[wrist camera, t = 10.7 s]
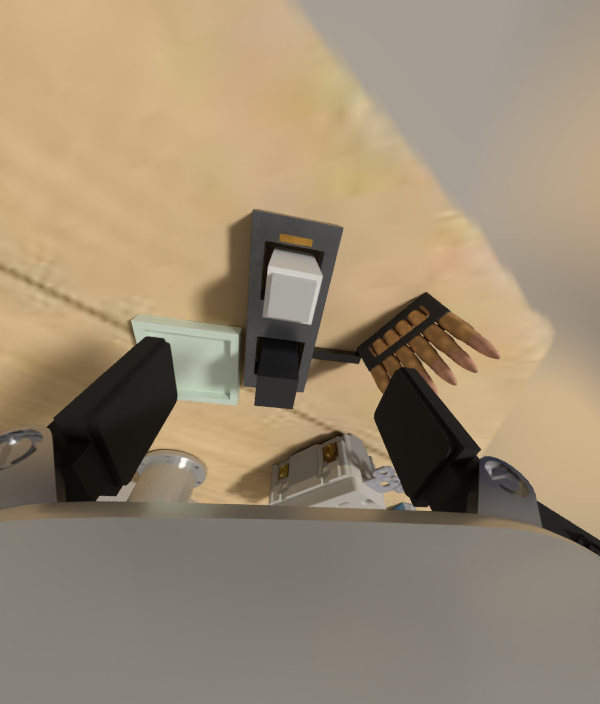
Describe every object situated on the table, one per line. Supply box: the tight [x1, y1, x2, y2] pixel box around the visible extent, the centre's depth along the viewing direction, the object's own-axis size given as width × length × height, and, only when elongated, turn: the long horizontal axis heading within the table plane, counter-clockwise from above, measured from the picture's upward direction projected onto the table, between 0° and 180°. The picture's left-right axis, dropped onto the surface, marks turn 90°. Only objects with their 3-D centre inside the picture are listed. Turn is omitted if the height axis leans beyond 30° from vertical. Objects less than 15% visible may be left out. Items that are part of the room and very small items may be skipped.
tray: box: [131, 314, 242, 405], centre depth 30 cm, size 12×12×2 cm
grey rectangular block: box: [263, 246, 323, 325], centre depth 21 cm, size 4×4×10 cm
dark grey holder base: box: [244, 209, 361, 409], centre depth 24 cm, size 20×15×9 cm
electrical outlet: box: [269, 434, 404, 509], centre depth 41 cm, size 12×28×10 cm, turn 131°
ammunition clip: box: [357, 292, 500, 396], centre depth 24 cm, size 11×2×12 cm, turn 137°
